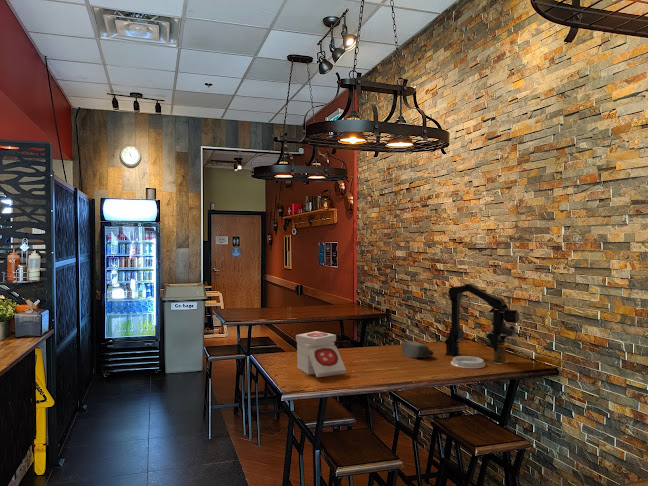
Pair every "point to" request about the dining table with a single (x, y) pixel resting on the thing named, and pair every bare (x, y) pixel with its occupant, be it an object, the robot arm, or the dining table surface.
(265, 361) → the dining table surface
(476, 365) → the collar plate
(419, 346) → the grey rounded jug
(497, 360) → the condiment
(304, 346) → the pizza box stack
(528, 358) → the dining table surface
